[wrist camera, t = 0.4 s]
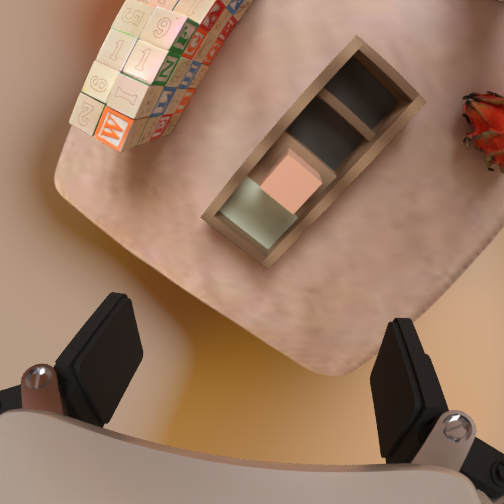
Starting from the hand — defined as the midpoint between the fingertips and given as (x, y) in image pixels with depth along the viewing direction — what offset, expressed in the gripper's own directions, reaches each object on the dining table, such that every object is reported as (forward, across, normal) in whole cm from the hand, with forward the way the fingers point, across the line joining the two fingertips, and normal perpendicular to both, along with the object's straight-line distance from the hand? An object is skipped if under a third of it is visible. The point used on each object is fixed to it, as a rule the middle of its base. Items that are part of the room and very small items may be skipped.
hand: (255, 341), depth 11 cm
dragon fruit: (+27, -24, -9) cm, 37 cm away
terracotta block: (+24, -1, 0) cm, 24 cm away
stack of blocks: (+27, +10, -15) cm, 33 cm away
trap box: (+27, -3, -3) cm, 27 cm away
